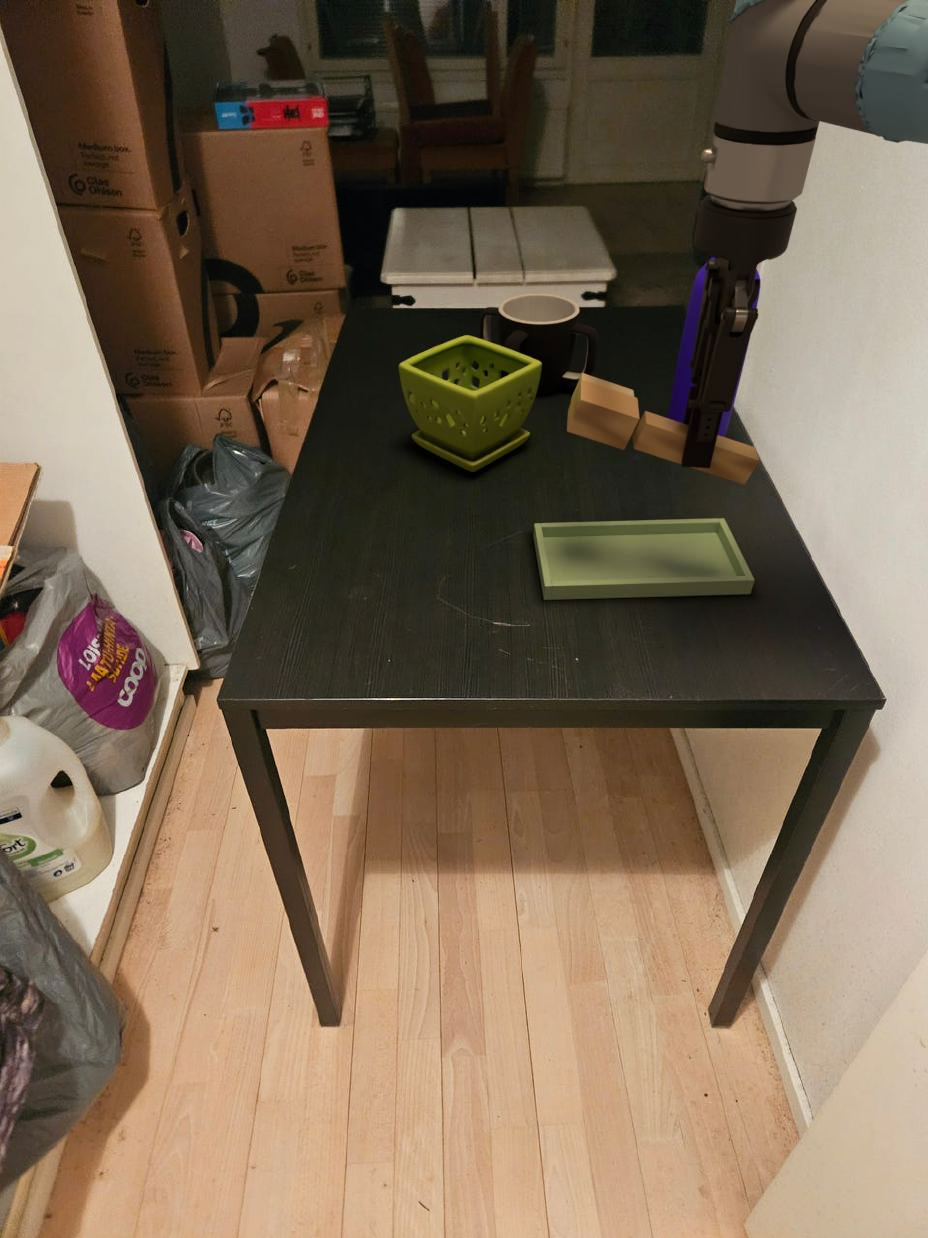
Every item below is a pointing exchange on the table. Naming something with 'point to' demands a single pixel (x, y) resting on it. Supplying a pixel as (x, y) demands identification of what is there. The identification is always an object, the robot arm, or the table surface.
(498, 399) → the flower pot
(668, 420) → the wooden mallet
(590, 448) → the table surface
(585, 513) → the table surface
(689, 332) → the bottle
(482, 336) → the mug
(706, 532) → the tray
